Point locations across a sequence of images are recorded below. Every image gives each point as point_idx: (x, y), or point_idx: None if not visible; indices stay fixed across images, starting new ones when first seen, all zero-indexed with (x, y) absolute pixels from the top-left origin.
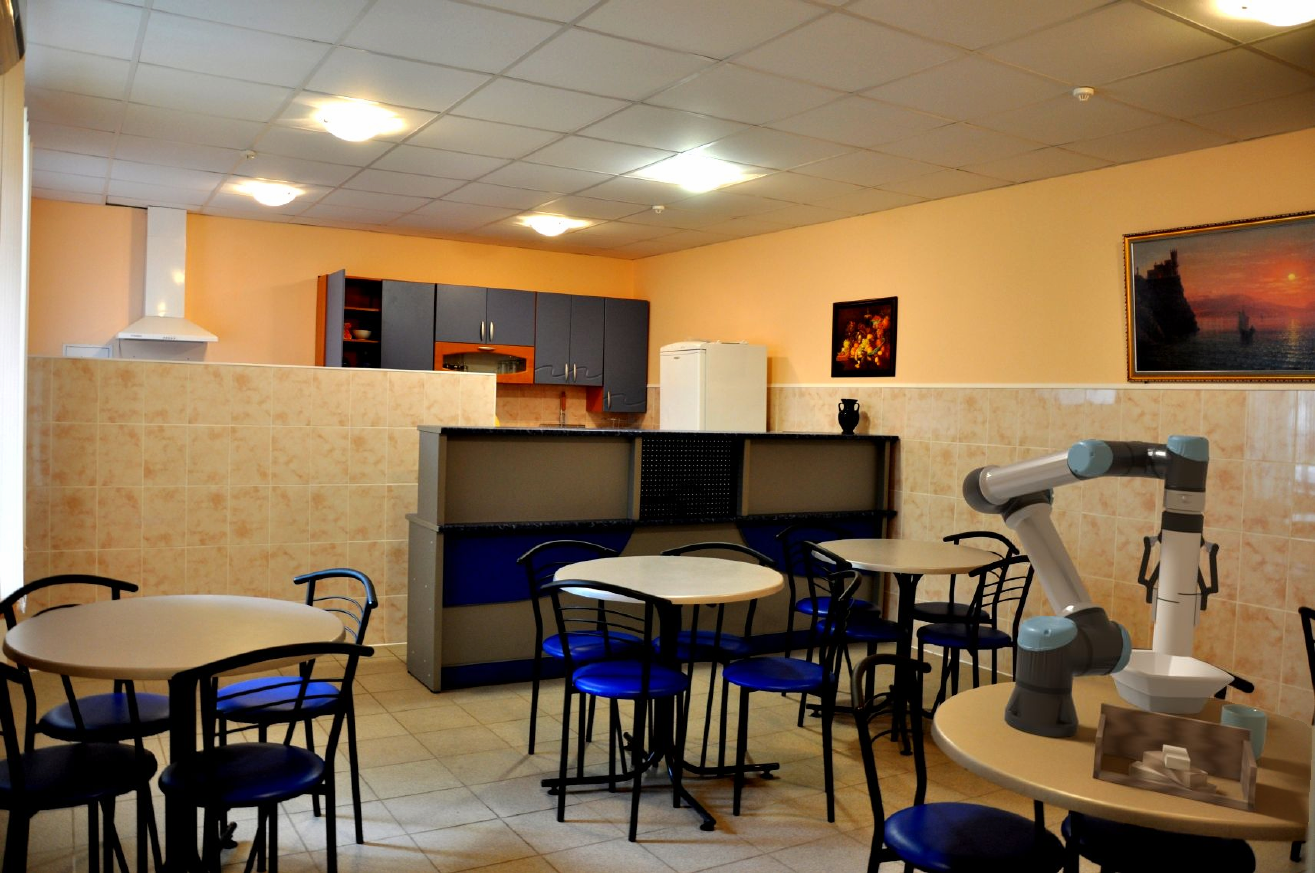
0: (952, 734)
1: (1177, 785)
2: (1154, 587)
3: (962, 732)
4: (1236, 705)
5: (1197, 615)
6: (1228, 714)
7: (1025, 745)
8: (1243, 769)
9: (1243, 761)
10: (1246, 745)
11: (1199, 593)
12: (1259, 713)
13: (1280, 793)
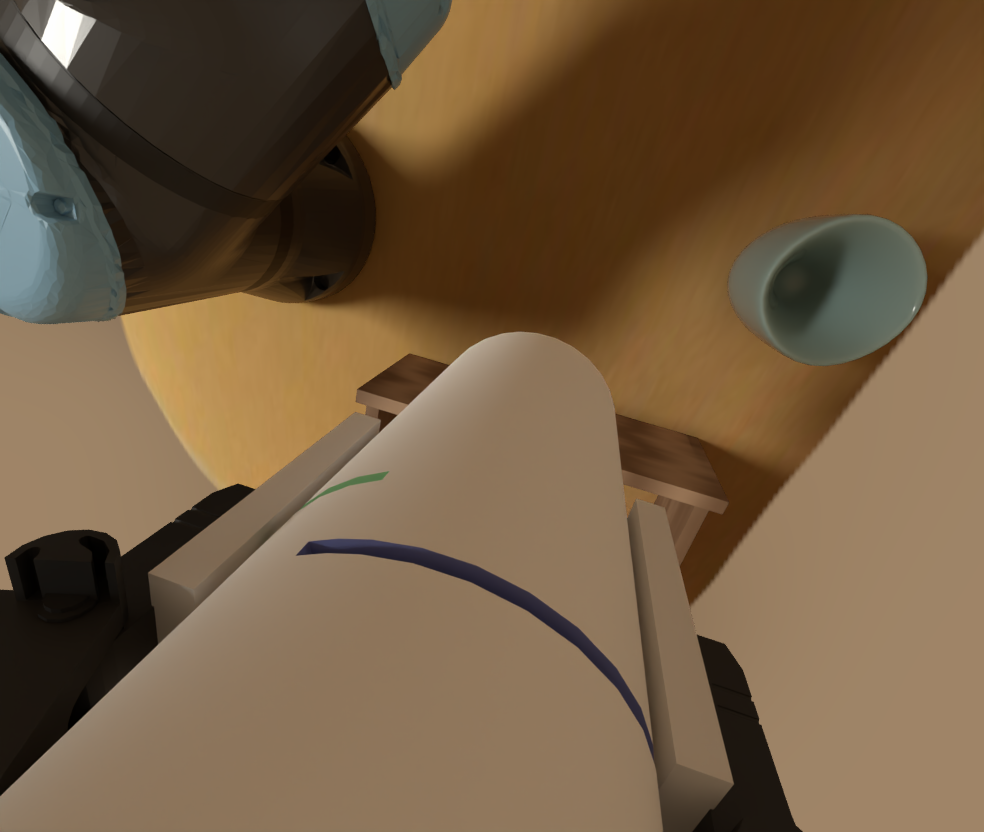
0: (146, 360)
1: None
2: (164, 579)
3: (158, 340)
4: (851, 222)
5: None
6: (758, 324)
7: (272, 375)
8: (667, 509)
9: (675, 505)
10: (685, 532)
11: (700, 798)
12: (909, 275)
13: (741, 492)
